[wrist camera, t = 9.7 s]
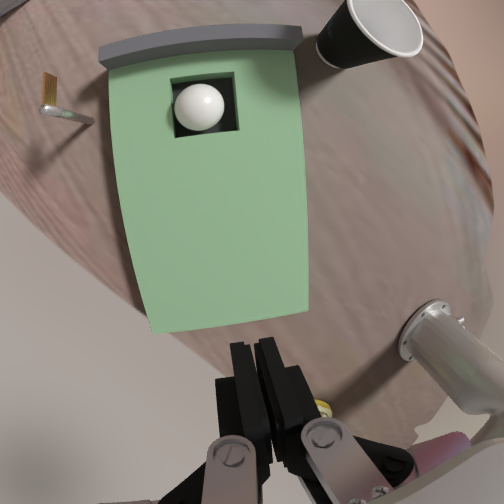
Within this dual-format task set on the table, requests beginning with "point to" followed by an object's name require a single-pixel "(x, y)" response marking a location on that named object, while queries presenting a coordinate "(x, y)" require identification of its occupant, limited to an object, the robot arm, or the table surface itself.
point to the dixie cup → (369, 33)
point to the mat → (211, 174)
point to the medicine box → (9, 5)
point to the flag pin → (50, 103)
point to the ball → (199, 107)
